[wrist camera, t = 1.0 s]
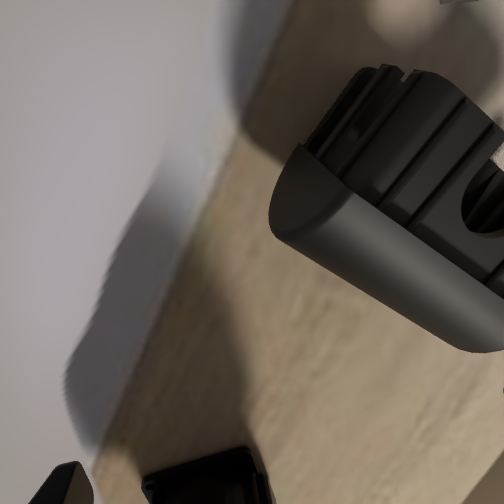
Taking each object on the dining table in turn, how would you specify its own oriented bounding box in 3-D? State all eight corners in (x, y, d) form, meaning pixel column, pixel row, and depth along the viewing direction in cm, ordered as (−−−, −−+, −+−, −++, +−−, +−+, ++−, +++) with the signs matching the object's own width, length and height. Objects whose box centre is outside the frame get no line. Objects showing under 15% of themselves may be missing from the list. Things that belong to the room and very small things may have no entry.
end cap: (252, 196, 20) (284, 268, 14) (355, 52, 18) (444, 65, 12) (407, 296, 24) (485, 386, 18) (507, 185, 22) (633, 244, 16)
